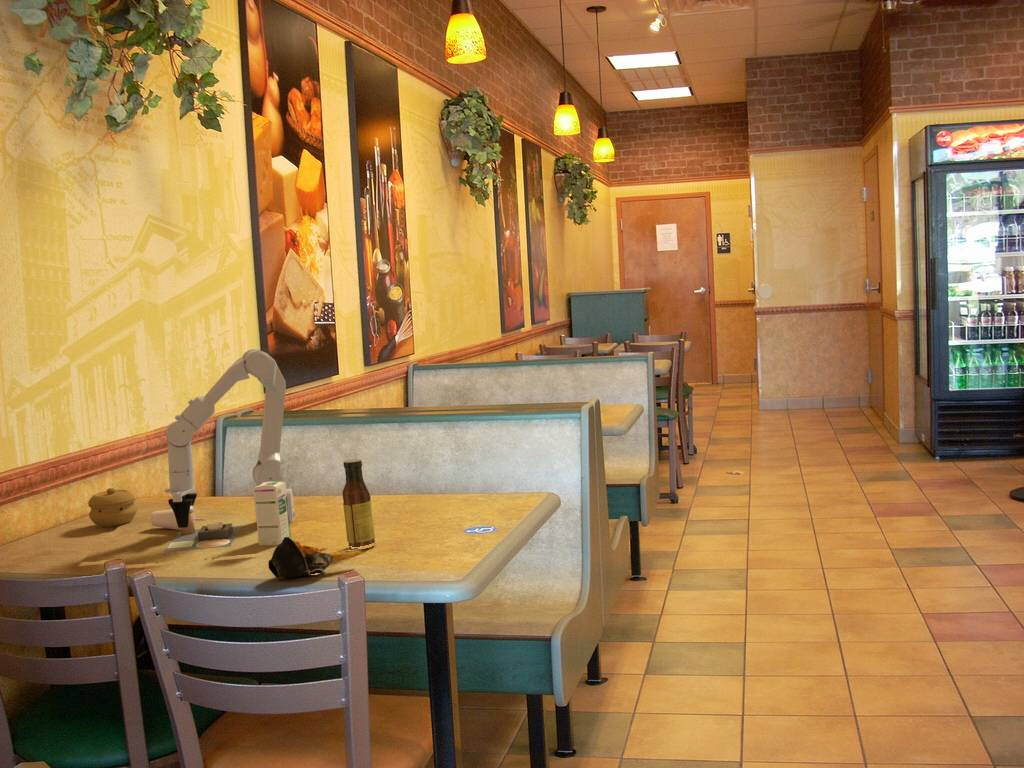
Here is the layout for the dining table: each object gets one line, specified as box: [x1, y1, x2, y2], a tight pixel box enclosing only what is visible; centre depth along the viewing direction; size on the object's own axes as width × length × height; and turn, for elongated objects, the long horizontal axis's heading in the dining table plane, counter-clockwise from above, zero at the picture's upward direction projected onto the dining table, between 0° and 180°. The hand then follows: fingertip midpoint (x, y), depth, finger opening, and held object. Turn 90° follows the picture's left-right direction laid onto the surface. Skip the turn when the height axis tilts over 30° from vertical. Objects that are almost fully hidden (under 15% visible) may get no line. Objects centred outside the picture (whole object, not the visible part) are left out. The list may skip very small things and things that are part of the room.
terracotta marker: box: [180, 505, 196, 535], centre depth 260 cm, size 4×4×6 cm
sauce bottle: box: [341, 458, 376, 547], centre depth 238 cm, size 6×6×20 cm
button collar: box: [198, 523, 234, 541], centre depth 255 cm, size 7×7×2 cm
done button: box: [206, 521, 224, 531], centre depth 255 cm, size 4×4×2 cm
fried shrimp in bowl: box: [268, 537, 363, 579], centre depth 220 cm, size 9×11×18 cm
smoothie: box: [149, 508, 207, 531], centre depth 266 cm, size 6×6×14 cm
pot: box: [87, 487, 138, 528], centre depth 277 cm, size 12×12×10 cm
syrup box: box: [252, 481, 292, 546], centre depth 245 cm, size 6×6×14 cm
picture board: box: [163, 525, 243, 553], centre depth 254 cm, size 15×20×1 cm
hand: (184, 525), depth 260 cm, fingers closed on terracotta marker, 3 cm apart
